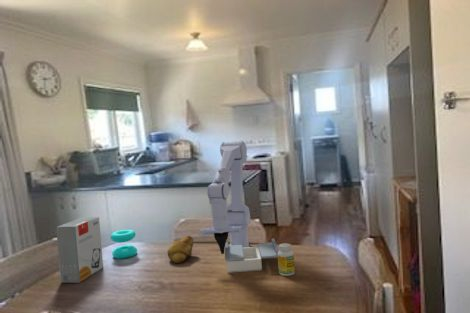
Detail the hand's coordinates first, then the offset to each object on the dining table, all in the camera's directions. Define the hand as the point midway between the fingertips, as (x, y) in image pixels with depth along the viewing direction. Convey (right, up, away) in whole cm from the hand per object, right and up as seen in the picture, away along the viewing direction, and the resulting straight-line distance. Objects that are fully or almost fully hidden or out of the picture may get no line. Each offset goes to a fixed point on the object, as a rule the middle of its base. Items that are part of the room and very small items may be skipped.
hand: (222, 253), depth 135 cm
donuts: (-42, -7, +21) cm, 47 cm away
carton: (+8, -4, 0) cm, 9 cm away
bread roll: (-17, -6, +11) cm, 21 cm away
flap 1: (+4, 0, 0) cm, 4 cm away
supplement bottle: (+22, -4, -10) cm, 24 cm away
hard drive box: (-51, -9, +2) cm, 52 cm away
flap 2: (+17, +1, 0) cm, 17 cm away
